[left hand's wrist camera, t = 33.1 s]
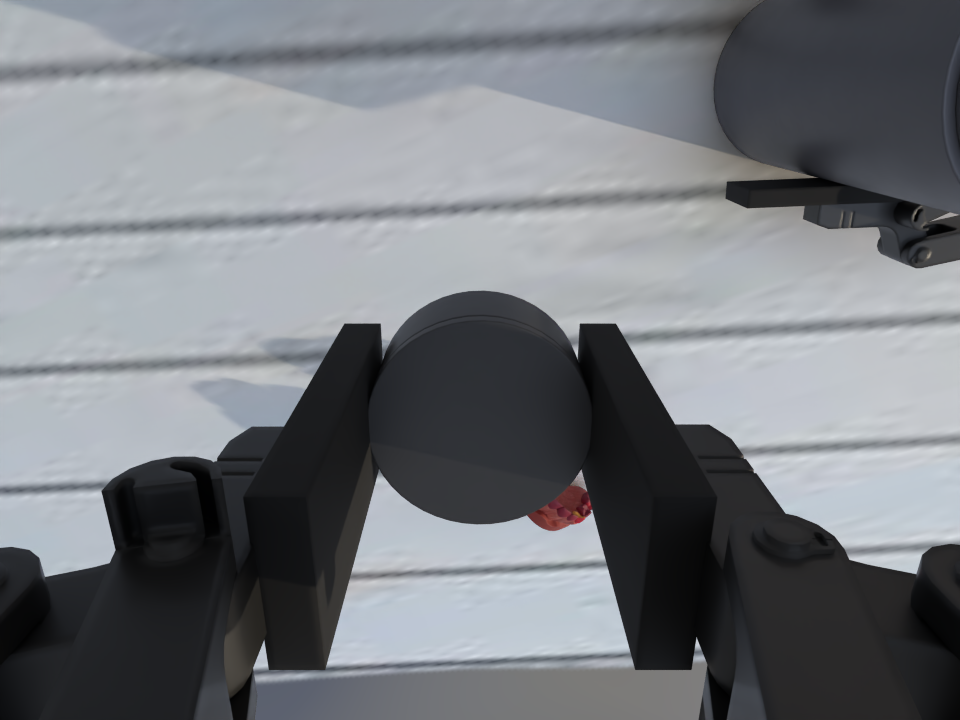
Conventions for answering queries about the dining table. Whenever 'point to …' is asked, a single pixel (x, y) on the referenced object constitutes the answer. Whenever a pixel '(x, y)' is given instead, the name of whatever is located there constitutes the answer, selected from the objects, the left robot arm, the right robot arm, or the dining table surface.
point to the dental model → (563, 510)
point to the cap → (480, 409)
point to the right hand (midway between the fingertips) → (748, 83)
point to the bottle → (849, 93)
